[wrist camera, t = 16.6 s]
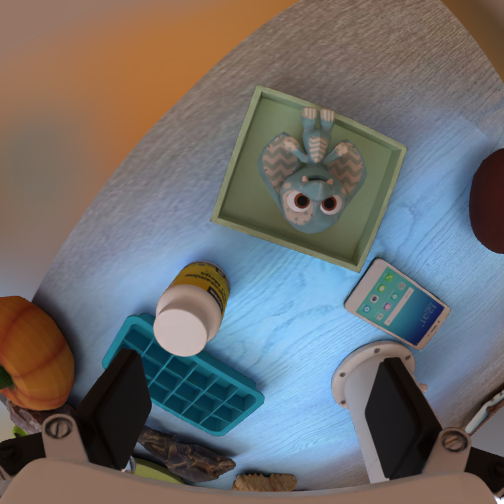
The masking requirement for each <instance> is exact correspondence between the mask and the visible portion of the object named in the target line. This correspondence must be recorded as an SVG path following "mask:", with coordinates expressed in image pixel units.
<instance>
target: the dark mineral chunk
mask: <svg viewBox="0 0 504 504" xmlns="http://www.w3.org/2000/svg"><path fill="white" fill-rule="evenodd" d="M175 439H176V436H175V435H171V436H170V435H168V434H165V433H163V432H160V431H157V430H152V429H151V428H149V427H147V426H145V425H144V427H143V429H142V431H141V434H140V436H139V438H138V442H139V443H140V444H141V445H142V446H144V448H145V449H146V450H147V451H149V452H150V453H151V454H152V455H154V456H155V457H156V458H158V459H159V460H161V461H164V464H165V465H166V466H167V467H168V468H169V470H170V471H171V472H173V473H174V474H176V475H178V476H181V477H183V478H185V479H187V480H190V481H193V482H206V481H211V480H216V479H218V478H219V476H220V475H222V474H224V473H226V472H227V471H230V470H232V469H234V468H235V467H236V463H235V462H234V461H233V460H232V459H230V458H227V457H224V456H219V455H217V454H216V453H214V452H213V451H211V450H209V449H207V448H204V447H201V446H199V445H197V444H182V443H176V442H175Z"/></svg>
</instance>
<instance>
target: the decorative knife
mask: <svg viewBox="0 0 504 504" xmlns="http://www.w3.org/2000/svg"><path fill="white" fill-rule="evenodd" d="M503 406H504V390H503V391H502V392H500V393H499V394H497V395H496V396H495V397H494V398H493V399H492V400H490V401H488V402H484V403H482V405H481V409H480V411H479V412H478V413H477V414H476V416H475V417H474V418H473V419H472V420H471V422H470V423H469V424H468V425H467V427H466V430H465V432H467V433H468V435H469V436H472V435H473V434H474V433H475V432H476V431H477V429H479V428H480V427H481V426H482V425H483V424H484V423H485V422H486V421H487V420H488V419H489V418H490V417H491V416H492V415H493V414H494V413H496V412H497V411H498V410H499V409H500V408H501V407H503Z"/></svg>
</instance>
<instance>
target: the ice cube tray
mask: <svg viewBox="0 0 504 504" xmlns="http://www.w3.org/2000/svg"><path fill="white" fill-rule="evenodd" d="M155 319H156V318H155V317H153V316H152V315H149V314H147V313H142V314H140V315H139V316H137V315H131V316H128V317H127V319H126V320H125V322H124V324H123V326H122V327H121V329H120V331H119V332H118V334H117V336H116V338H115V339H114V341H113V343H112V345H111V346H110V348H109V350H108V352H107V353H106V355H105V357H104V359H103V361H102V366H103V368H104V369H105V370H106V368H107V367H108V366H109V364H110V363H111V362H112V360H113V359H114V358H115V356H116V355H117V354H118V352H119V351H120V350H121V349H122V348H127V349H133V350H136V351H137V353H138V354H140V355H141V357H142V362H143V367H144V371H145V376H146V381H147V385H148V389H149V393H150V398H151V402H153V403H154V404H156V405H157V406H159V407H161V408H163V409H164V410H166V411H168V412H169V413H171V414H173V415H175V416H176V417H178V418H180V419H182V420H184V421H186V422H187V423H189V424H191V425H193V426H195V427H197V428H199V429H201V430H203V431H205V432H207V433H209V434H211V435H213V436H223V435H225V434H226V433H227V432H229V431H230V430H231V429H233V428H234V427H235V426H236V425H238V424H239V423H240V422H241V421H243V420H244V419H245V418H246V417H248V416H249V415H250V414H251V413H253V412H254V411H255V410H256V409H257V408H259V407H260V406H261V405H262V404H263V403H264V399H265V397H264V395H263V394H262V393H261V392H259V391H257V390H256V383H255V382H254V381H253V380H251V379H250V378H248V377H246V376H244V375H243V374H241V373H239V372H238V371H236V370H234V369H232V368H231V367H229V366H227V365H226V364H224V363H223V362H221V361H219V360H218V359H216V358H214V357H213V356H211V355H210V354H208V353H206V352H205V351H203V350H201V351H200V352H199V353H197V354H195V355H192V356H178V355H175V354H172V353H170V352H168V351H167V350H165V349H164V348H163V347H162V346H161V345H160V344H159V343H158V341H157V339H156V337H155V335H154V330H153V326H154V321H155Z"/></svg>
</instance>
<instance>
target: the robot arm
mask: <svg viewBox="0 0 504 504" xmlns="http://www.w3.org/2000/svg"><path fill="white" fill-rule="evenodd" d="M414 372H415V359H414V357H413V354H412V353H411V352H410V350H409V349H408V348H407V347H406V346H405V345H403V344H401V343H399V342H396V341H386V340H385V341H377V342H374V343H370V344H367V345H365V346H363V347H361V348H359V349H357V350H356V351H354V352H353V353H351V354H350V355H349V356H348V357H346V358H345V359H344V360H343V361H342V363H341V364H340V365H339V366H338V368H337V369H336V371H335V373H334V375H333V378H332V383H331V390H332V394H333V397H334V399H335V401H336V402H337V403H338V404H339V405H340V406H341V407H343V408H345V409H347V410H349V411H350V414H351V418H352V421H353V424H354V428H355V431H356V434H357V438H358V441H359V445H360V448H361V451H362V455H363V458H364V462H365V466H366V469H367V473H368V476H369V480H370V483H371V484H366V485H360V486H353V487H345V488H337V489H327V490H314V491H293V492H257V491H237V490H224V489H214V488H205V487H197V486H190V485H183V484H177V483H172V482H166V481H161V480H156V479H152V478H147V477H143V476H138V475H134V474H130V473H126V472H122V471H121V469H125V468H126V466H127V464H128V461H129V459H130V457H131V454H132V452H133V450H134V447H135V445H136V443H137V441H138V438H139V436H140V434H141V431H142V429H143V427H144V425H145V422H146V420H147V418H148V416H149V413H150V411H151V408H152V402H151V398H150V393H149V389H148V385H147V381H146V376H145V371H144V367H143V362H142V357H141V355H140V354H138V353H137V351H136V350H133V349H127V348H122V349H121V350H120V351H119V352H118V354H117V355H116V356H115V358H114V359H113V360H112V362H111V363H110V364H109V366H108V367H107V368H106V370H105V371H104V373H103V374H102V375H101V376H100V377H99V378H98V379H97V381H96V382H95V384H94V385H93V386H92V388H91V389H90V391H89V392H88V393H87V395H86V396H85V398H84V399H83V400H82V402H81V403H80V405H79V406H78V407H77V409H76V410H75V412H74V413H73V415H72V416H69V415H67V414H55V415H52V416H50V417H48V418H47V419H46V420H45V421H44V422H43V424H42V426H41V432H38V433H34V434H30V435H26V436H21V437H17V438H13V439H8V440H5V441H2V442H1V443H0V504H504V457H501V456H498V455H495V454H491V453H489V452H486V451H483V450H480V449H477V448H474V447H471V438H470V436H469V435H468V433H467V432H465V431H464V430H463V429H460V428H457V427H448V428H445V429H444V428H443V426H442V424H441V422H440V421H439V419H438V417H437V415H436V414H435V412H434V410H433V409H432V407H431V405H430V404H429V402H428V400H427V399H426V397H425V395H424V394H423V393H425V392H426V391H427V389H428V385H427V384H423V383H418V381H417V379H416V378H415V376H414Z"/></svg>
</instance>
